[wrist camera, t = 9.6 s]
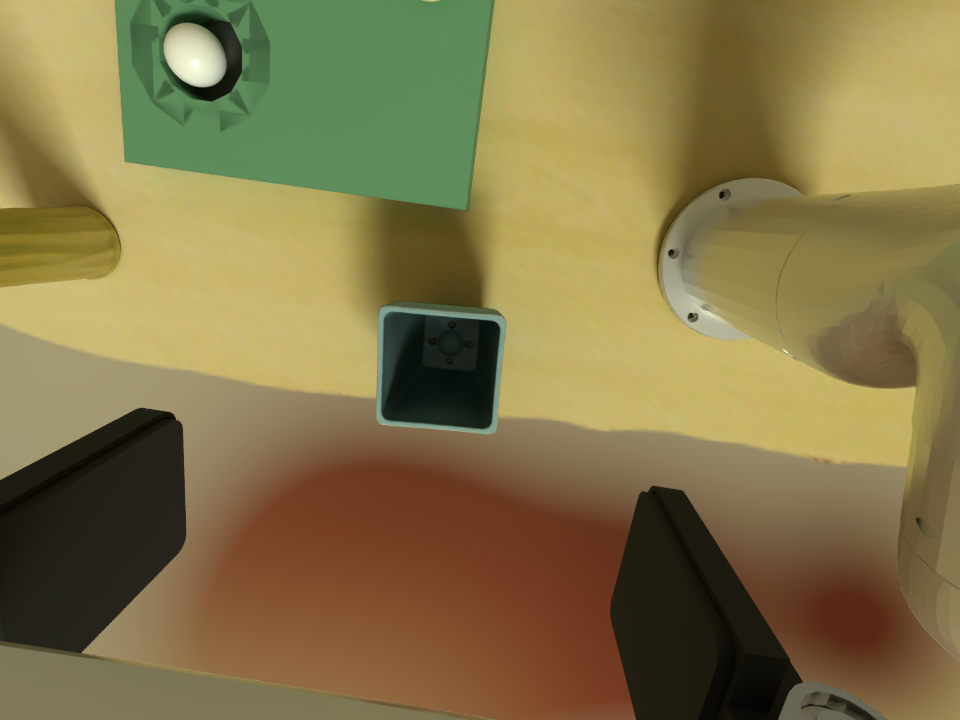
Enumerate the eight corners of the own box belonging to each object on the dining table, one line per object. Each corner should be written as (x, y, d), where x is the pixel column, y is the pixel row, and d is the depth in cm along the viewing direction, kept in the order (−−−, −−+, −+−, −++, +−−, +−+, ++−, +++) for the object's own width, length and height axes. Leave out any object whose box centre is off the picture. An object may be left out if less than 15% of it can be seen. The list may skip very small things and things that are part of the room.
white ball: (237, 37, 38) (207, 17, 34) (237, 96, 39) (208, 83, 35) (184, 30, 38) (148, 9, 34) (186, 89, 39) (151, 75, 35)
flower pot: (507, 295, 42) (507, 315, 34) (498, 393, 45) (496, 436, 36) (403, 286, 42) (377, 304, 34) (400, 384, 45) (375, 424, 36)
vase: (70, 189, 42) (-144, 176, 28) (134, 237, 42) (-43, 248, 29) (40, 247, 43) (-178, 262, 29) (102, 293, 44) (-81, 328, 30)
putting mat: (497, -21, 36) (496, -42, 33) (468, 210, 40) (465, 210, 37) (140, -69, 36) (108, -94, 33) (151, 165, 41) (124, 161, 38)
